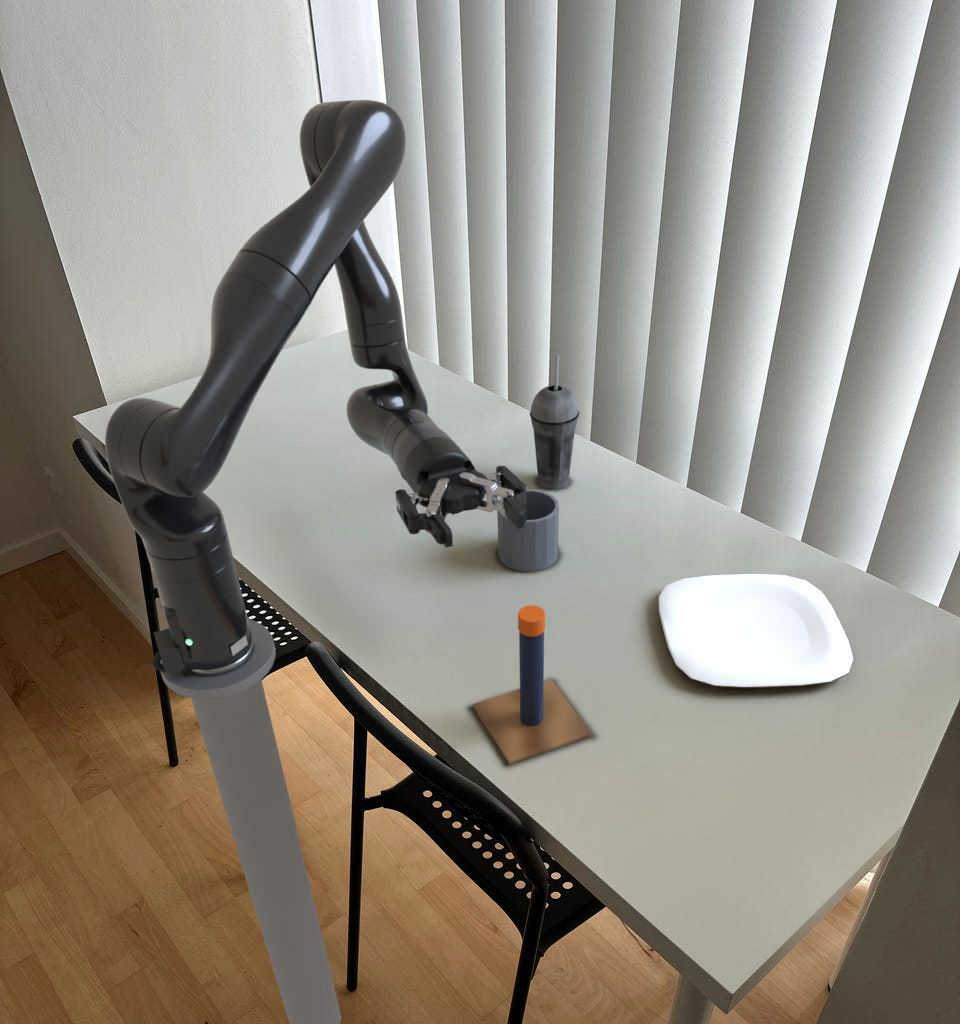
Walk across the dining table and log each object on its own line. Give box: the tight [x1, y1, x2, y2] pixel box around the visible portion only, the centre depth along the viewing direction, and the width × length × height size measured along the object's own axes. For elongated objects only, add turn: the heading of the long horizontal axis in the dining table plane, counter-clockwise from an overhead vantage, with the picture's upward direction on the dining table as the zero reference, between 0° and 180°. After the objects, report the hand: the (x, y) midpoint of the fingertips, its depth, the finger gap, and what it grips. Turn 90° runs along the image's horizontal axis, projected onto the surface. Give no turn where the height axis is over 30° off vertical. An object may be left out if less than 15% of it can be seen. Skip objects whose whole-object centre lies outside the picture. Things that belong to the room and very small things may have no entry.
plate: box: [658, 573, 854, 689], centre depth 120 cm, size 22×22×2 cm
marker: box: [517, 605, 546, 726], centre depth 106 cm, size 3×3×15 cm
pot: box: [496, 488, 560, 573], centre depth 134 cm, size 8×8×8 cm
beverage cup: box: [529, 354, 580, 490], centre depth 145 cm, size 7×7×20 cm
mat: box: [472, 678, 592, 765], centre depth 111 cm, size 10×10×1 cm
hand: (486, 530), depth 106 cm, fingers open, 8 cm apart
